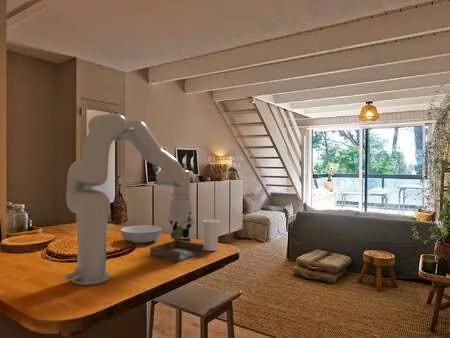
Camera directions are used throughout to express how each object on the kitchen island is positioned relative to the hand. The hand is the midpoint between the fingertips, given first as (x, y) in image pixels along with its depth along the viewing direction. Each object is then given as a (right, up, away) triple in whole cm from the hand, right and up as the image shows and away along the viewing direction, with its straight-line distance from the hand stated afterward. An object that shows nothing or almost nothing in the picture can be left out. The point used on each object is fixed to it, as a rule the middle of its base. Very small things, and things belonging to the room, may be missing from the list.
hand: (180, 236), depth 152 cm
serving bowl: (-24, -8, +24) cm, 35 cm away
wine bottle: (-2, -9, +19) cm, 21 cm away
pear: (0, -1, -1) cm, 1 cm away
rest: (-1, -9, +1) cm, 9 cm away
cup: (+13, -9, +11) cm, 19 cm away
